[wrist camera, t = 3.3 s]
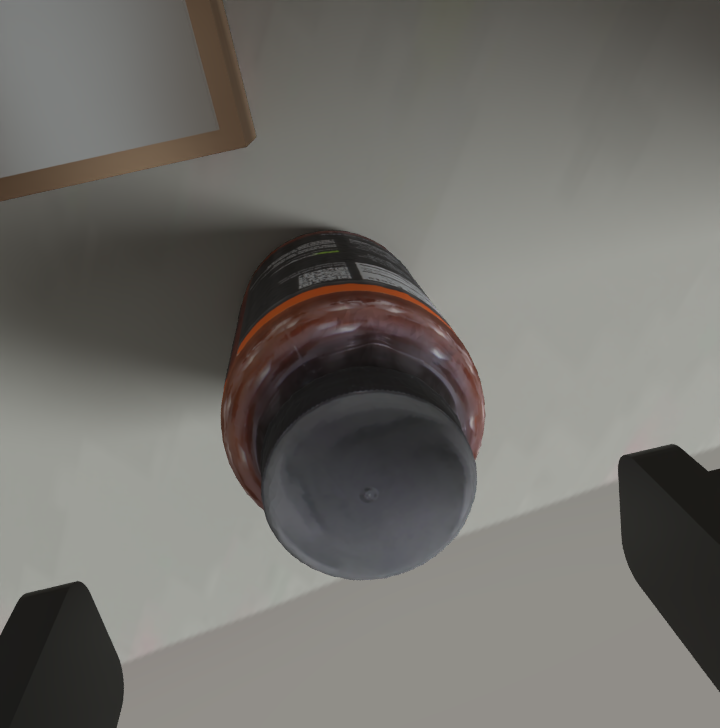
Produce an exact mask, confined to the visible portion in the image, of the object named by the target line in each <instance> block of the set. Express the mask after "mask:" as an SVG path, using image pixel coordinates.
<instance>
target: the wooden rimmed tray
mask: <svg viewBox="0 0 720 728" xmlns="http://www.w3.org/2000/svg"><path fill="white" fill-rule="evenodd" d="M255 138H256V133H255V129H254V125H253V121H252V117H251V113H250V109H249V105H248V101H247V97H246V93H245V89H244V85H243V81H242V77H241V73H240V69H239V65H238V61H237V57H236V53H235V49H234V45H233V41H232V37H231V33H230V29H229V25H228V21H227V17H226V13H225V9H224V5H223V1H222V0H0V201H4V200H9V199H13V198H18V197H22V196H27V195H31V194H36V193H40V192H45V191H49V190H54V189H58V188H63V187H67V186H72V185H76V184H81V183H85V182H90V181H95V180H99V179H104V178H108V177H113V176H117V175H122V174H126V173H131V172H135V171H140V170H144V169H149V168H153V167H158V166H162V165H167V164H171V163H176V162H180V161H185V160H189V159H194V158H198V157H203V156H207V155H212V154H216V153H221V152H226V151H230V150H235V149H239V148H244V147H247V146H248V145H249V144H250V143H251V142H252V141H253V140H254V139H255Z"/></svg>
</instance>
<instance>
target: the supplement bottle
mask: <svg viewBox="0 0 720 728" xmlns="http://www.w3.org/2000/svg"><path fill="white" fill-rule="evenodd" d="M484 405H485V402H484V396H483V392H482V386H481V382H480V378H479V376H478V372H477V370H476V368H475V366H474V363H473V361H472V359H471V357H470V355H469V353H468V351H467V350H466V348H465V346H464V345H463V343H462V342H461V341H460V339H459V338H458V337H457V335H456V334H455V332H454V331H453V330H452V328H451V327H450V325H449V324H448V323H447V322H446V320H445V319H444V318H443V316H442V315H441V314H440V312H439V311H438V310H437V309H436V307H435V306H434V305H433V303H432V302H431V301H430V299H429V298H428V297H427V295H426V294H425V293H424V292H423V290H422V289H421V288H420V286H419V285H418V284H417V282H416V281H415V280H414V279H413V277H412V276H411V274H410V273H409V271H408V270H407V269H406V267H405V266H404V265H403V264H402V263H401V262H400V261H399V260H398V259H397V258H396V257H395V256H394V255H393V254H392V253H390V252H389V251H388V250H387V249H386V248H385V247H383V246H382V245H380V244H378V243H376V242H375V241H373V240H371V239H368V238H366V237H363V236H361V235H358V234H354V233H350V232H347V231H318V232H314V233H309V234H306V235H302V236H299V237H297V238H295V239H293V240H290V241H288V242H286V243H284V244H283V245H282V246H280V247H279V248H277V249H276V250H274V251H273V252H271V253H270V254H269V255H268V257H267V258H266V259H265V260H264V261H263V262H262V263H261V265H260V266H259V267H258V269H257V270H256V271H255V273H254V274H253V276H252V278H251V280H250V282H249V284H248V287H247V289H246V292H245V295H244V299H243V303H242V305H241V309H240V313H239V317H238V323H237V328H236V333H235V337H234V342H233V346H232V352H231V356H230V362H229V365H228V369H227V374H226V379H225V385H224V392H223V399H222V405H221V430H222V437H223V443H224V447H225V451H226V454H227V458H228V461H229V464H230V466H231V468H232V470H233V472H234V474H235V476H236V478H237V479H238V481H239V482H240V484H241V486H242V487H243V488H244V490H245V492H246V493H247V494H248V495H249V496H250V497H251V498H252V499H253V500H254V501H255V502H256V504H257V505H258V506H259V507H261V508H262V509H263V510H264V512H265V516H266V519H267V522H268V524H269V526H270V528H271V530H272V531H273V533H274V535H275V536H276V538H277V539H278V541H279V542H280V543H281V544H282V545H283V546H284V548H285V549H286V550H287V551H288V552H289V553H291V554H292V556H294V557H295V558H297V559H298V560H299V561H300V562H302V563H304V564H306V565H307V566H309V567H310V568H312V569H315V570H317V571H320V572H322V573H325V574H328V575H331V576H333V577H341V578H344V579H349V580H371V579H382V578H387V577H390V576H393V575H398V574H401V573H404V572H407V571H410V570H412V569H414V568H416V567H418V566H420V565H423V564H424V563H426V562H427V561H429V560H430V559H431V558H433V557H435V556H436V555H437V554H438V553H439V552H441V551H442V550H443V549H444V548H445V547H446V546H447V545H448V544H449V543H450V542H451V541H452V540H453V539H454V538H455V537H456V536H457V535H458V533H459V531H460V530H461V528H462V527H463V525H464V524H465V521H466V519H467V517H468V515H469V513H470V510H471V507H472V503H473V502H474V498H475V493H476V485H477V473H476V463H475V460H476V457H477V455H478V453H479V449H480V447H481V440H482V436H483V431H484V420H485V409H484Z"/></svg>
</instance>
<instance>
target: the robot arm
mask: <svg viewBox="0 0 720 728" xmlns="http://www.w3.org/2000/svg"><path fill="white" fill-rule="evenodd" d="M618 477H619V496H620V515H621V535H622V545H623V550H624V554H625V557H626V560H627V563H628V566H629V568H630V570H631V572H632V574H633V576H634V578H635V580H636V581H637V583H638V584H639V586H640V587H641V588H642V589H643V591H644V592H645V593H646V595H647V596H648V597H649V599H650V600H651V601H652V603H653V604H654V605H655V607H656V608H657V609H658V611H659V612H660V613H661V615H662V616H663V617H664V619H665V620H666V621H667V623H668V624H669V625H670V626H671V628H672V629H673V631H674V632H675V633H676V635H677V636H678V637H679V639H680V640H681V641H682V643H683V644H684V645H685V646H686V648H687V649H688V651H689V652H690V653H691V654H692V656H693V657H694V658H695V660H696V661H697V663H698V664H699V665H700V666H701V668H702V669H703V671H704V672H705V673H706V674H707V676H708V677H709V678H710V680H711V681H712V682H713V683H714V685H715V686H716V688H717V689H718V690H719V692H720V469H717V470H712V471H707V470H706V469H705V468H704V467H702V466H701V465H700V464H699V463H697V462H696V461H695V460H694V459H693V458H692V457H691V456H689V455H688V454H687V453H686V452H685V451H684V450H682V449H681V448H680V447H678V446H677V445H674V444H670V445H666V446H661V447H657V448H653V449H649V450H644V451H640V452H636V453H631V454H627V455H623V456H622V457H621V458H620V460H619V464H618ZM123 694H124V682H123V673H122V668H121V664H120V660H119V658H118V655H117V653H116V651H115V648H114V646H113V644H112V642H111V639H110V637H109V635H108V632H107V630H106V628H105V626H104V623H103V621H102V619H101V617H100V614H99V612H98V610H97V607H96V605H95V603H94V601H93V598H92V596H91V594H90V592H89V590H88V588H87V587H86V586H85V585H84V584H83V583H82V582H79V581H77V582H72V583H68V584H64V585H60V586H55V587H51V588H47V589H43V590H38V591H34V592H30V593H26V594H24V595H23V596H22V597H21V598H20V599H19V601H18V602H17V604H16V606H15V608H14V610H13V612H12V614H11V616H10V618H9V619H8V621H7V623H6V625H5V627H4V629H3V631H2V633H1V635H0V728H117V724H118V720H119V716H120V712H121V708H122V703H123Z"/></svg>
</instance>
